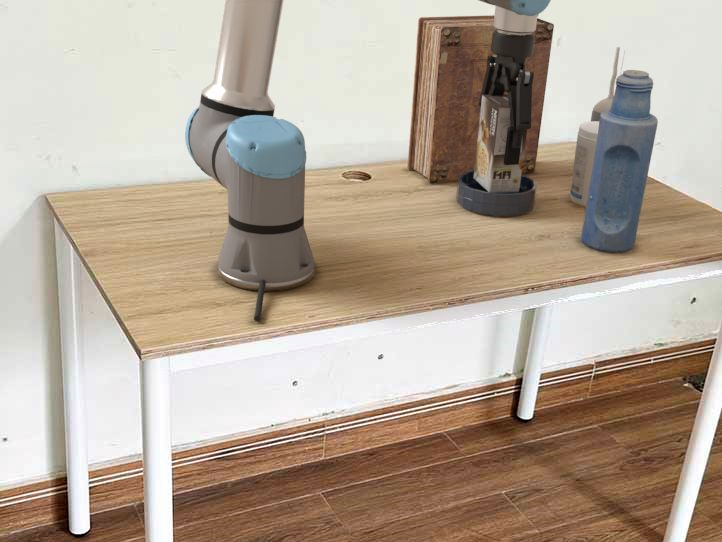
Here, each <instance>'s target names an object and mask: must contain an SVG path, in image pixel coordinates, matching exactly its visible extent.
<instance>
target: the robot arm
mask: <svg viewBox="0 0 722 542" xmlns="http://www.w3.org/2000/svg"><path fill="white" fill-rule="evenodd" d="M284 1H285V0H225V3H224V10H223V15H222V22H221V29H220V35H219V41H218V49H217V56H216V60H215V61H216V62H215V69H214V74H213V80H212V82H211V83H210V84H209V85H207V86H206V87H205V88H203V89H202V90H201V93H200V101H199V105H198V107H196V109H194V110H193V111H192V112H191V114H190V115H189V117H188V120H187V122H186V125H185V130H184V136H185V137H184V140H185V141H184V142H185V146H186V149H187V151H188V154H189V155H190V158H191V159H192V160H193V161H194V163H195V164H196V166H197V167H198V168H200V171H202V172H203V173H204V174H205V175H207V176H208V177H210V178H212V179H213V180H215V182H217V183H218V184H219V185H221V186H222V188H224V189H226V191H227V212H228V213H227V214H228V215H227V217H228V220H227V221H228V223H227V224H228V225H227V229H226V232H225V235H224V238H223V240H222V241H223V242H222V244H221V248H220V251H219V254H218V258H217V274H218V276H219V277H220V279H222V280H223V281H224V282H225V283H227V284H229V285H231V286H234V287H237V288H240V289H243V290H244V289H245V290H250V291H257V296H256V297H257V298H256V303H255V311H254V314H253V315H254V316H253V321H255V322H260V320H261V316H262V310H263V304H264V296H265V292H276V291H277V292H278V291H279V292H280V291H286V290H291V289H295V288H298V287H301V286H304V285H306V284H308V283H309V282H310V281H311V280H312V279H313V278H314V277H315V272H316V270H315V268H316V267H315V266H316V265H315V257H314V255H313V251H312V248H311V245H310V242H309V239H308V235H307V232H306V229H305V194H306V192H305V191H306V163H307V151H306V142H305V136H304V134H303V132H302V130H300V128H299V127H298V126H297V125H296V124H294V123H292V122H291V121H289V120H286V119H284V118H277V116H274V115H275V109H276V104H275V103H274V102H273V100H272V99H271V97H270V96H269V87H270V80H271V75H272V71H273V63H274V57H275V51H276V47H277V41H278V35H279V29H280V24H281V23H280V22H281V17H282V12H283V7H284ZM478 1H479V2H483V3H485V4H488V5H491V6H495V7H494V24H493V27H494V28H496V30H495V31H494V32H493V34H492V43H491V51H492V52H493V53H494V54H496V55H489V56H488V57H487V69H486V73H485V78H484V82H483V87H482V91H481V95H480V100H479V106H480V107H481V102H482V95H491V96H493V95H503V94H504V92H505V91H506V92H507V93H508V102H509V106H510V123H511V126H510V127H508V128H507V129H508V133H507V141H506V149H505V157H504V165H518V164H519V158H520V150H521V142H522V136H523V131H524V130H526V129H531V113H532V83H533V78H534V72H532V71H530V72H528V71H526V70H525V69H526V68H525V59H526V58H527V57H530V56H531V55H532V54H533V48H534V41H535V36H534V34H533V33H532V32H534V31H535V30H536V23H537V18H539V15H540V14H541V13H543V12H544V11H545V10H546V9H547V7H548V6H549V5H550V2H551V1H552V0H478Z"/></svg>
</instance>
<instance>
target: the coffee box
mask: <svg viewBox="0 0 722 542" xmlns="http://www.w3.org/2000/svg"><path fill="white" fill-rule="evenodd" d="M510 126H511V123H510V106H509V102H508V94H503V95H493V96H491V95H482V102H481V112H480V121H479V131H478V141H477V151H476V159H475V169H474V179H475V180H476V181H477V182H478V183H479V184H481V185H482V186H483V187H484V188H485V189H486V190H487V191H488V192H490V193H505V192H519V188H520V181H521V173H522V165H523V159H524V151H525V143H526V136H527V129H526V130H524V131H523V136H522V142H521V150H520V158H519V164H518V165H504V157H505V149H506V141H507V133H508V129H507V128H508V127H510Z"/></svg>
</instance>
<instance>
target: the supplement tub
mask: <svg viewBox="0 0 722 542" xmlns="http://www.w3.org/2000/svg"><path fill="white" fill-rule="evenodd" d="M598 128H599V121H591V120H590V121H585V122H582V123H580V125H579V127H578V132H577V136H576V137H577V138H576V144H575V151H574V158H573V159H574V160H573V167H572V175H571V176H572V177H571V184H570V193H569V198H570V200H571V201H572V202H573V203H574V204H576V205H578V206H581V207H584V208H586V204H587V198H588V192H589V186H590V180H591V173H592V167H593V161H594V155H595V148H596V143H597V136H598Z"/></svg>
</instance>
